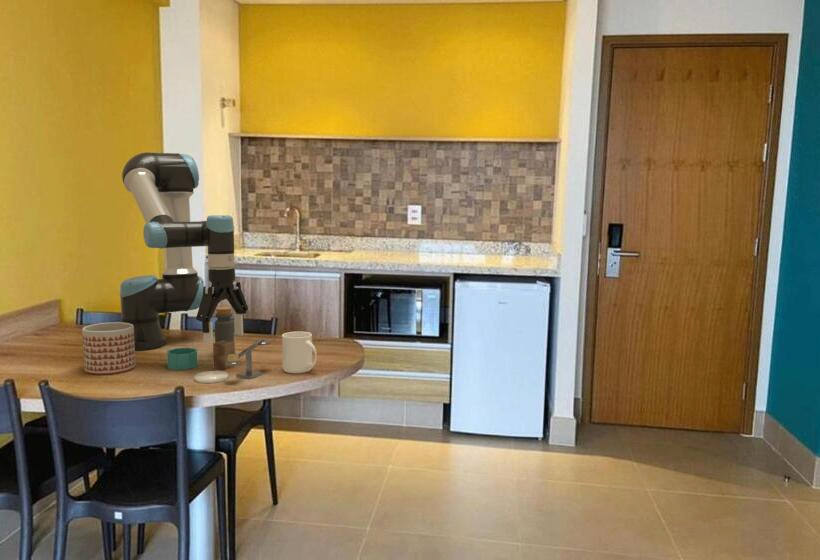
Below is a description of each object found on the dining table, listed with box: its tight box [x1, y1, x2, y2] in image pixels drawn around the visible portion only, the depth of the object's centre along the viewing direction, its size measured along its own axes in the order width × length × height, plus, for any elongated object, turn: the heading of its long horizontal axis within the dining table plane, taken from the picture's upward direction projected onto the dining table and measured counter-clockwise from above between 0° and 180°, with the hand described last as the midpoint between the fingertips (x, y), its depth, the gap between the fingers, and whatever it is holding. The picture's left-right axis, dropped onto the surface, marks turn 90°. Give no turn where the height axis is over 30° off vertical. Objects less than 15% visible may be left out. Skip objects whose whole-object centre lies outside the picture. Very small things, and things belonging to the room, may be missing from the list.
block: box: [212, 341, 236, 371], centre depth 197 cm, size 4×4×8 cm
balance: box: [225, 338, 272, 380], centre depth 188 cm, size 5×18×9 cm, turn 156°
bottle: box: [214, 306, 235, 343], centre depth 212 cm, size 6×6×15 cm
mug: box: [281, 331, 318, 374], centre depth 193 cm, size 9×12×11 cm
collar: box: [166, 347, 199, 371], centre depth 198 cm, size 8×8×5 cm
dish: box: [194, 370, 229, 384], centre depth 185 cm, size 9×9×1 cm
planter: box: [81, 321, 136, 376], centre depth 193 cm, size 14×14×13 cm
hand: (224, 339), depth 196 cm, fingers open, 13 cm apart
